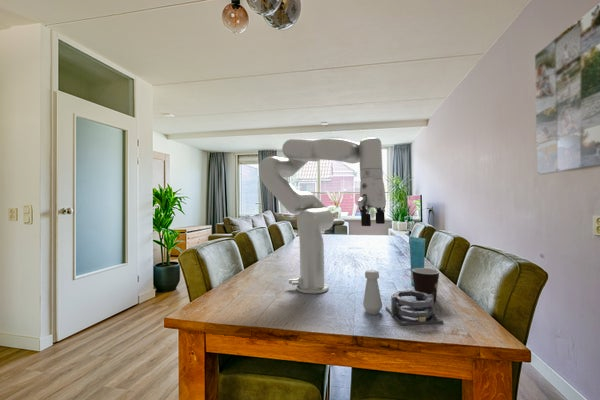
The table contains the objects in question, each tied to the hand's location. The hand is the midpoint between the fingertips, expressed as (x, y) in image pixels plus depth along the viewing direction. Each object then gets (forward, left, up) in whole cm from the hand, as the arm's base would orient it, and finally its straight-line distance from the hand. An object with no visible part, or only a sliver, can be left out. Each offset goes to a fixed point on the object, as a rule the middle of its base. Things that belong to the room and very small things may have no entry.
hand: (373, 224), depth 98 cm
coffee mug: (+19, 0, -27) cm, 33 cm away
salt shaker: (-4, -9, -27) cm, 28 cm away
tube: (+23, +16, -27) cm, 39 cm away
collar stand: (+7, -13, -26) cm, 30 cm away
